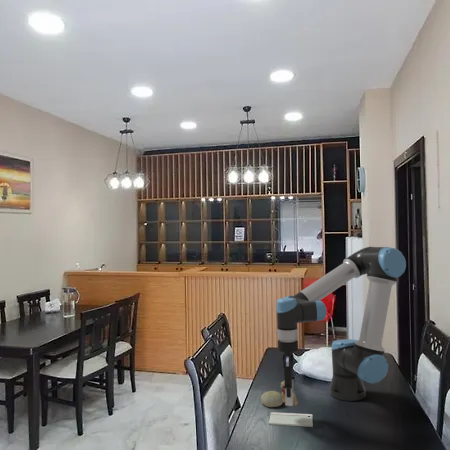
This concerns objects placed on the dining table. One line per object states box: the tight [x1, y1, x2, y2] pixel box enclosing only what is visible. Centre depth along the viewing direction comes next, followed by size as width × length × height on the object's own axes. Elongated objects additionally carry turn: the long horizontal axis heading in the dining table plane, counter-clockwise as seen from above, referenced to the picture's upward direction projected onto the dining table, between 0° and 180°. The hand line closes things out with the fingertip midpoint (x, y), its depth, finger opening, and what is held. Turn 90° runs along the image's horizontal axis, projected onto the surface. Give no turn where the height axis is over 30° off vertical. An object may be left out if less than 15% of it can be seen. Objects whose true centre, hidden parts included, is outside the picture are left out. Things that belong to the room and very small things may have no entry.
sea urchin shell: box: [260, 390, 284, 408], centre depth 172 cm, size 9×8×8 cm
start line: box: [270, 411, 313, 417], centre depth 161 cm, size 16×2×1 cm, turn 79°
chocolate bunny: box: [280, 379, 299, 407], centre depth 156 cm, size 6×8×10 cm
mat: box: [268, 414, 314, 428], centre depth 156 cm, size 16×7×1 cm, turn 79°
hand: (289, 401), depth 156 cm, fingers closed on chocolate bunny, 7 cm apart
